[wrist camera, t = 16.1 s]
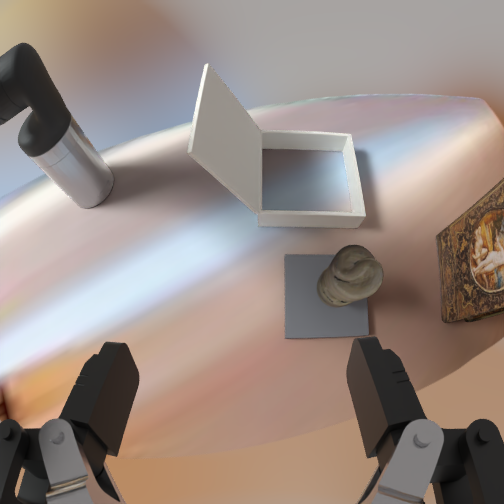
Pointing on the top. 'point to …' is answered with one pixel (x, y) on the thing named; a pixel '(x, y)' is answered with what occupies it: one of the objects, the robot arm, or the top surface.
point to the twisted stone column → (349, 277)
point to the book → (473, 261)
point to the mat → (317, 303)
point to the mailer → (250, 156)
